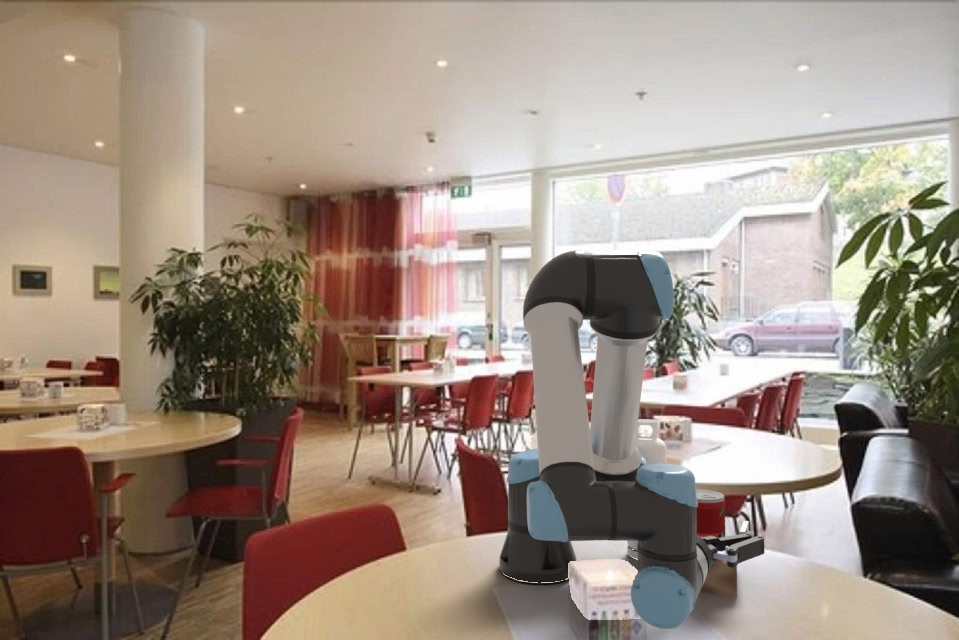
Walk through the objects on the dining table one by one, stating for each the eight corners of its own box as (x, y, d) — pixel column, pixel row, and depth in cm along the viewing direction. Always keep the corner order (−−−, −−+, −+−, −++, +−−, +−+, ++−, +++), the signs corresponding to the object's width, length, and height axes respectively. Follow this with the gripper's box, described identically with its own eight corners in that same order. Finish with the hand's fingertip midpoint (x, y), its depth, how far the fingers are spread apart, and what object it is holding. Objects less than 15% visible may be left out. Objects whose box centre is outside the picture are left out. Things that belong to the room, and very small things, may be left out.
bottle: (668, 551, 138) (667, 418, 138) (666, 564, 130) (664, 424, 131) (629, 547, 141) (628, 417, 141) (624, 559, 133) (623, 422, 133)
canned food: (730, 561, 116) (728, 499, 116) (683, 560, 117) (682, 498, 117) (721, 547, 124) (719, 489, 124) (677, 545, 125) (676, 488, 125)
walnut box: (666, 589, 119) (666, 556, 119) (671, 563, 132) (671, 533, 132) (737, 598, 115) (736, 564, 115) (734, 570, 128) (734, 539, 128)
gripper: (597, 574, 100) (632, 535, 119) (776, 605, 88) (783, 556, 107) (597, 525, 100) (632, 493, 119) (775, 550, 88) (783, 510, 107)
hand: (704, 523), depth 113 cm, fingers open, 13 cm apart
